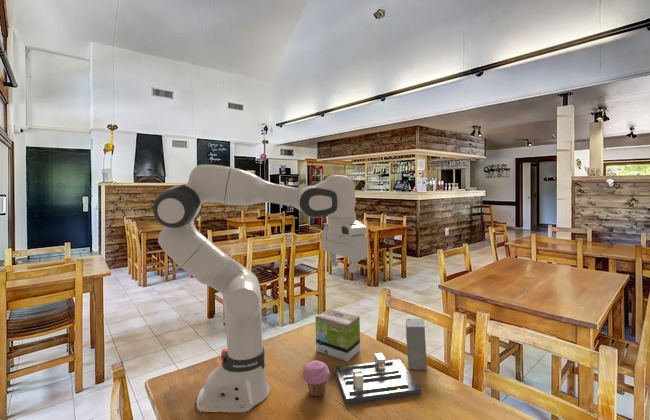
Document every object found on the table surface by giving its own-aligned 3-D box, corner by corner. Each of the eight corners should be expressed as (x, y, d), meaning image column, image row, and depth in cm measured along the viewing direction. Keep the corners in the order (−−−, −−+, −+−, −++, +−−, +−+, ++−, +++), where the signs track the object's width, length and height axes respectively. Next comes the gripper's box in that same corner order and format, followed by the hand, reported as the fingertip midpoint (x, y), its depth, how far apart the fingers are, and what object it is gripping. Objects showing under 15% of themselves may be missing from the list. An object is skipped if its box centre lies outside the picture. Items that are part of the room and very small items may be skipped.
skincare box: (427, 371, 120) (427, 327, 118) (406, 369, 121) (406, 326, 120) (425, 358, 128) (425, 318, 127) (405, 357, 130) (405, 317, 128)
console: (346, 404, 103) (346, 383, 103) (335, 372, 121) (334, 353, 120) (421, 394, 107) (421, 374, 106) (399, 364, 125) (399, 346, 124)
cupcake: (332, 398, 106) (332, 368, 105) (305, 403, 105) (304, 372, 104) (327, 382, 115) (326, 354, 114) (301, 386, 113) (300, 357, 112)
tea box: (315, 352, 135) (314, 316, 134) (329, 341, 144) (328, 307, 142) (347, 362, 127) (347, 324, 126) (360, 351, 135) (360, 315, 134)
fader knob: (356, 390, 106) (355, 375, 106) (352, 382, 110) (352, 368, 110) (363, 389, 107) (363, 374, 106) (360, 381, 111) (360, 368, 110)
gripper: (316, 224, 115) (317, 264, 116) (354, 230, 98) (355, 277, 99) (331, 222, 118) (332, 261, 120) (370, 228, 101) (371, 273, 103)
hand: (343, 268), depth 109 cm, fingers open, 8 cm apart
